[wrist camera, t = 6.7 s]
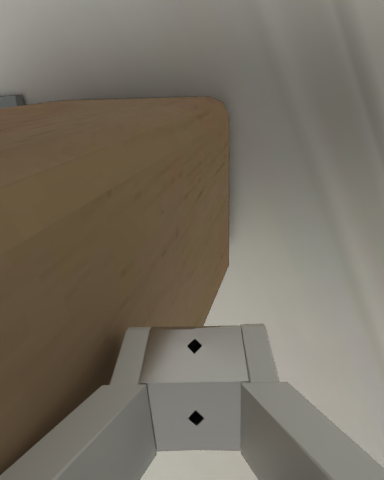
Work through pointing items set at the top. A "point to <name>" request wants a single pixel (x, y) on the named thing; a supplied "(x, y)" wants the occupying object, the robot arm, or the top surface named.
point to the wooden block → (101, 242)
